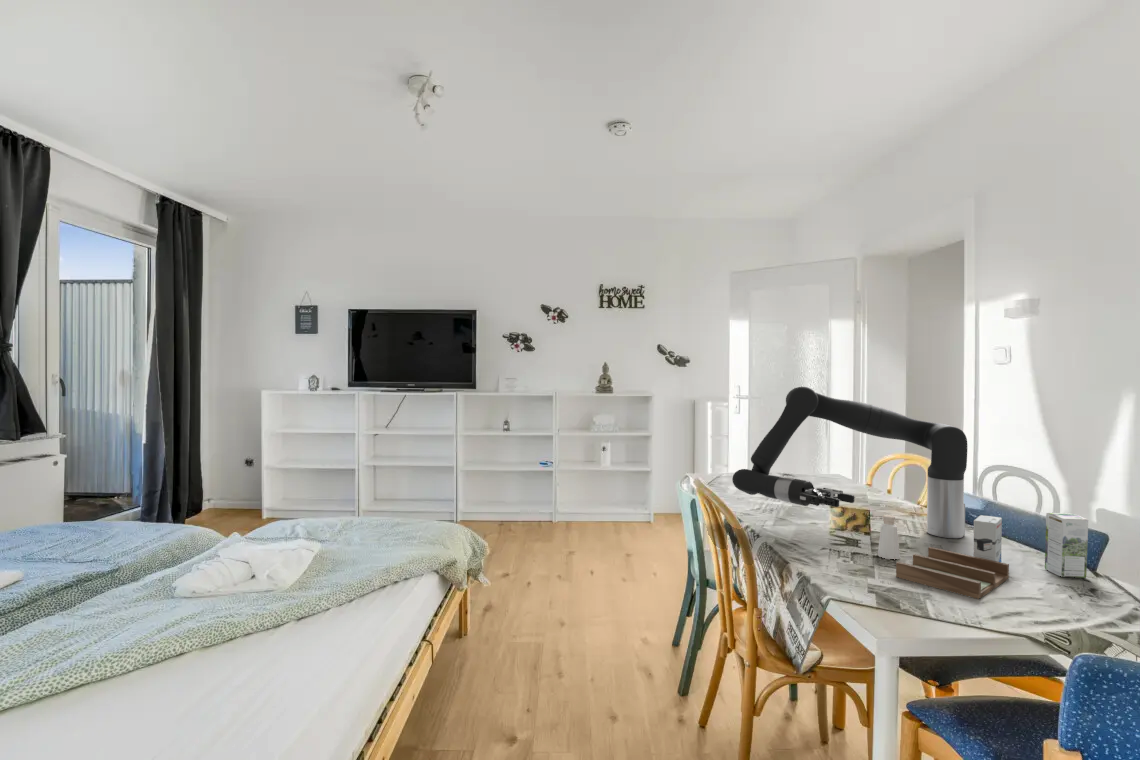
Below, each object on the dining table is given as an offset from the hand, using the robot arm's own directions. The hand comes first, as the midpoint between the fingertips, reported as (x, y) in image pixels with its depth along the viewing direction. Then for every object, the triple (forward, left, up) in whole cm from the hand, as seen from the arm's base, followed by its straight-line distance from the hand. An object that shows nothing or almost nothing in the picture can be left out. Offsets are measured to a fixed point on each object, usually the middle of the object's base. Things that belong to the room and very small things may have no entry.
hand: (846, 501), depth 162 cm
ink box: (-21, +25, -13) cm, 35 cm away
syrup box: (-31, +37, -13) cm, 50 cm away
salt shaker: (-3, +11, -13) cm, 17 cm away
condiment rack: (-3, +28, -13) cm, 31 cm away
